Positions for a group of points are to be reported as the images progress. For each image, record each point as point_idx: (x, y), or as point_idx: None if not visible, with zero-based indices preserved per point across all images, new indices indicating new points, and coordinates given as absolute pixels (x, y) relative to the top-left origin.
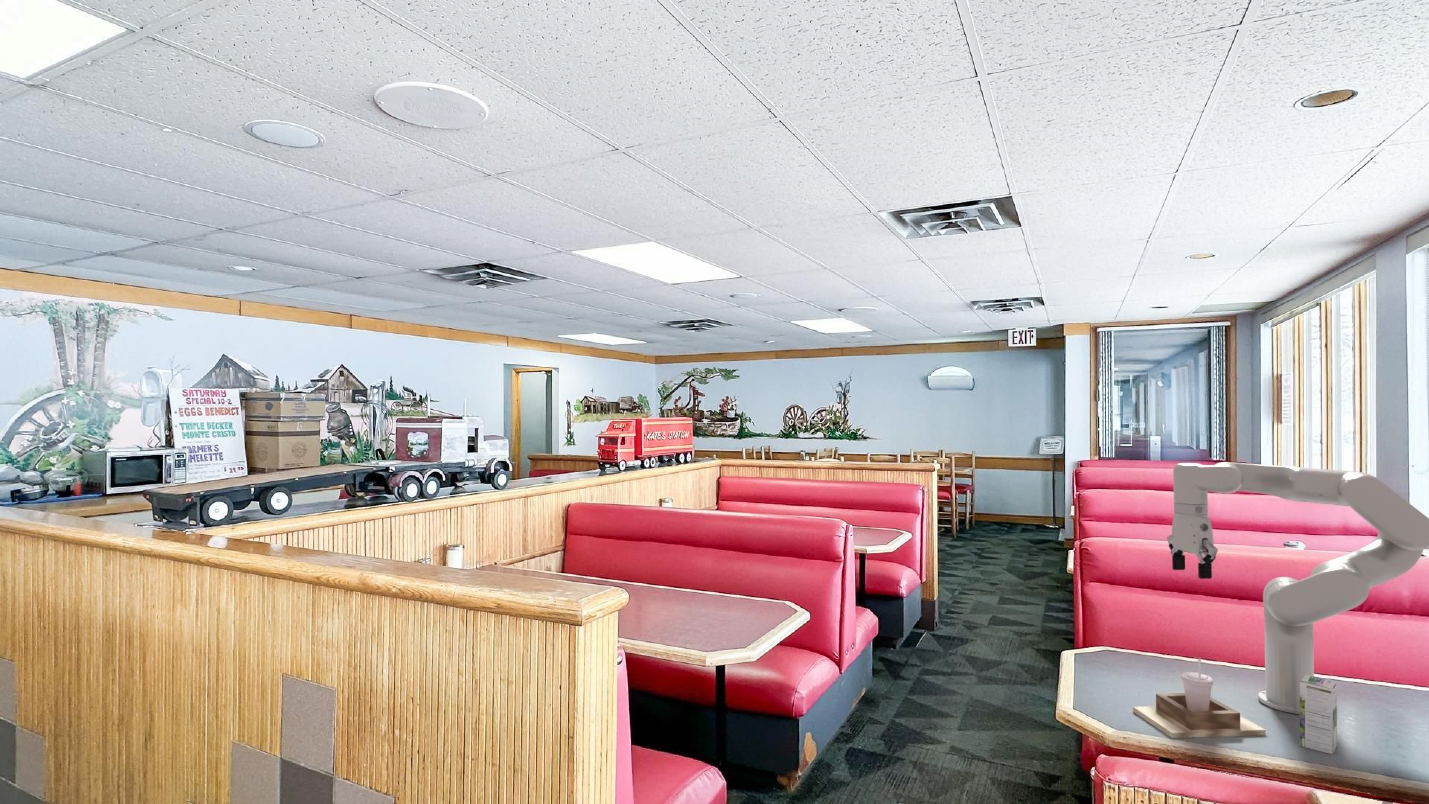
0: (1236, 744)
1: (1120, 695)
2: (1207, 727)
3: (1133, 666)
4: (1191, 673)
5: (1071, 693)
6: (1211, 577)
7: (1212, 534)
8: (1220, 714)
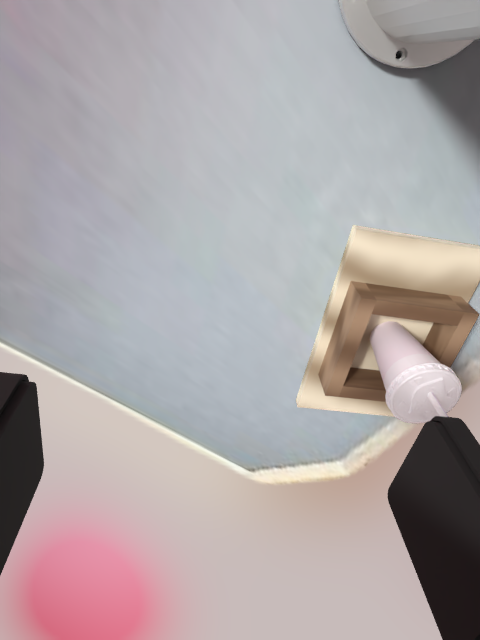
0: (475, 334)
1: (219, 371)
2: None
3: (28, 204)
4: (401, 391)
5: (188, 442)
6: (460, 422)
7: None
8: (456, 352)
